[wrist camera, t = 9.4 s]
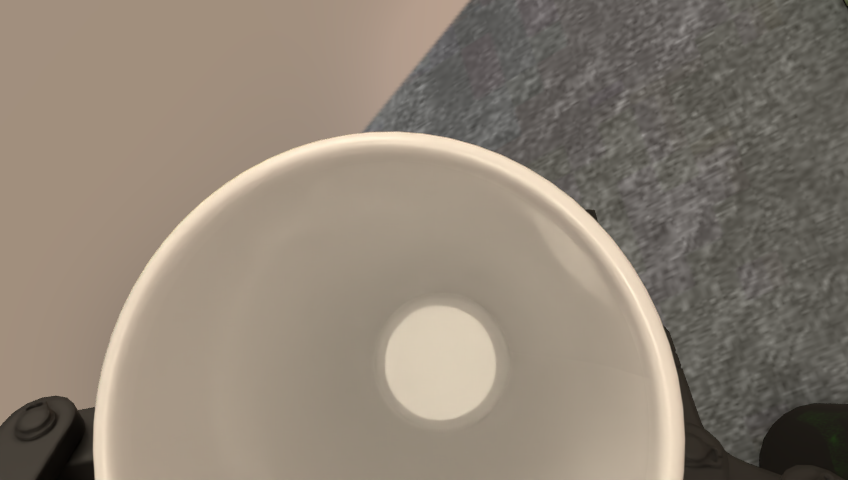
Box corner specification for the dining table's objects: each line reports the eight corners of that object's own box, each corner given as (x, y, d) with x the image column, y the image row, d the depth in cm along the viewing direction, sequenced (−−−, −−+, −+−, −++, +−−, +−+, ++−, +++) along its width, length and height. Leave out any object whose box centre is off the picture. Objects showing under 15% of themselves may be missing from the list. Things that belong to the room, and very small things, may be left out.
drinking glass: (570, 341, 20) (831, 357, 6) (462, 492, 20) (432, 953, 5) (427, 235, 21) (329, 18, 7) (320, 374, 21) (-41, 468, 6)
